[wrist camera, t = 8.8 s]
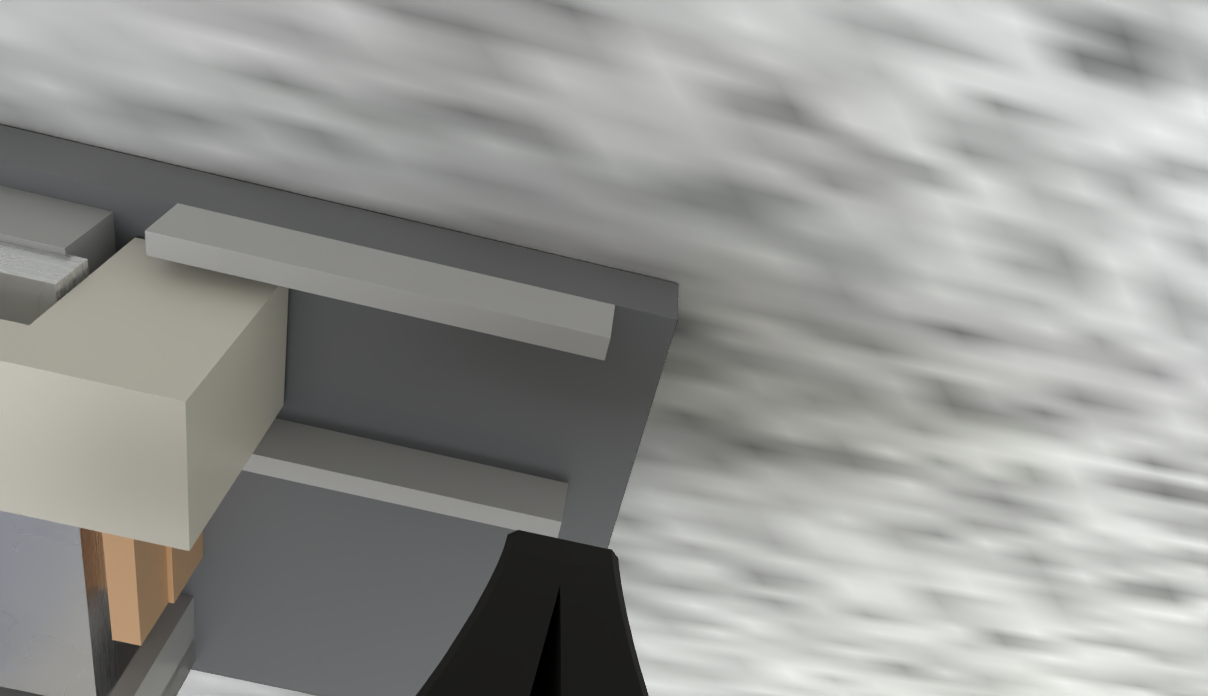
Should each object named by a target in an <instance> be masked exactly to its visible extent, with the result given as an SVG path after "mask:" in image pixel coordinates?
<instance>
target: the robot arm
mask: <svg viewBox="0 0 1208 696" xmlns="http://www.w3.org/2000/svg"><path fill="white" fill-rule="evenodd" d="M416 696H648V692H647V689H646V685H645V682H644V679H643V675H642V672H641V669H640V665H639V662H638V658H637V654H636V650H635V647H634V643H633V639H632V634H631V630H630V626H629V621H628V617H627V612H626V607H625V603H624V597H623V592H622V586H621V579H620V572H619V563H618V557H617V556H616V555H615V553H614V552H613V551H612V550H611V549H606V548H601V547H597V546H592V545H587V544H583V543H578V542H573V541H569V540H564V539H559V538H555V537H550V536H545V535H541V534H536V533H531V532H527V531H522V530H516V531H514V532H512V533H510V534H508V535H507V538H506V542H505V545H504V548H503V551H502V554H501V556H500V558H499V561H498V563H497V566H496V568H495V570H494V572H493V574H492V576H491V578H490V580H489V582H488V584H487V586H486V588H485V590H484V591H483V593H482V595H481V597H480V599H479V601H478V602H477V604H476V606H475V608H474V609H473V611H472V613H471V614H470V616H469V618H468V619H467V621H466V622H465V624H464V626H463V627H462V629H461V630H460V632H459V634H458V635H457V637H456V638H455V640H454V641H453V643H452V645H451V646H450V648H449V649H448V651H447V653H446V654H445V656H444V657H443V659H442V660H441V661H440V663H439V664H438V666H437V667H436V669H435V670H434V671H433V673H432V674H431V675H430V677H429V678H428V680H427V681H426V682H425V684H424V685H423V686H422V688H421V689H420V691H419V692H418V693H417V695H416Z"/></svg>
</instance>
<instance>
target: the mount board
mask: <svg viewBox="0 0 1208 696" xmlns="http://www.w3.org/2000/svg"><path fill="white" fill-rule="evenodd" d="M135 237H136V238H140V239H144V240H145V243H146V255H147V256H151V257H156V258H160V259H165V260H169V261H173V262H178V263H182V264H186V265H191V266H195V267H199V268H204V269H208V270H212V271H217V272H221V273H225V274H230V275H234V276H239V277H243V278H247V279H252V280H256V281H260V282H265V283H269V284H273V285H278V286H282V287H286V288H289V292H288V315H287V338H286V361H285V384H284V405H283V407H282V409H281V410H280V412H279V413H278V415H277V416H276V418H275V419H274V421H273V422H272V424H271V426H270V427H269V429H268V430H267V432H266V433H265V435H264V436H263V438H262V440H261V441H260V443H259V444H258V446H257V447H256V449H255V450H254V452H253V453H252V455H251V457H250V458H249V460H248V461H247V463H246V464H245V466H244V467H243V469H242V470H241V472H240V474H239V475H238V477H237V478H236V480H235V481H234V483H233V484H232V486H231V488H230V489H229V491H228V492H227V494H226V495H225V497H224V498H223V500H222V501H221V503H220V505H219V506H218V508H217V509H216V511H215V512H214V514H213V515H212V517H211V519H210V520H209V522H208V523H207V525H206V526H205V528H204V529H203V531H202V532H201V534H200V536H199V537H198V539H197V540H196V542H195V543H194V545H193V546H192V548H191V549H190V551H187V550H182V549H177V548H173V547H168V546H163V545H159V544H154V543H149V542H145V541H140V540H135V539H131V538H126V537H121V536H117V535H112V534H107V533H103V532H102V537H103V547H104V558H105V568H106V579H107V589H108V600H109V610H110V621H111V631H112V640H115V641H118V652H119V665H120V672H119V674H118V675H117V677H116V678H115V680H114V681H113V683H112V685H111V686H110V688H109V689H108V691H107V692H106V694H105V695H104V696H176V695H177V693H178V691H179V690H180V688H181V686H182V684H183V682H184V681H185V679H186V677H187V675H188V673H189V672H190V670H191V669H192V670H197V671H202V672H207V673H211V674H216V675H221V676H226V677H231V678H235V679H240V680H245V681H250V682H255V683H259V684H264V685H269V686H274V687H279V688H283V689H288V690H293V691H298V692H303V693H307V694H312V695H317V696H416V695H417V693H418V692H419V691H420V689H421V688H422V686H423V685H424V684H425V682H426V681H427V680H428V678H429V677H430V675H431V674H432V673H433V671H434V670H435V669H436V667H437V666H438V664H439V663H440V661H441V660H442V659H443V657H444V656H445V654H446V653H447V651H448V649H449V648H450V646H451V645H452V643H453V641H454V640H455V638H456V637H457V635H458V634H459V632H460V630H461V629H462V627H463V626H464V624H465V622H466V621H467V619H468V618H469V616H470V614H471V613H472V611H473V609H474V608H475V606H476V604H477V602H478V601H479V599H480V597H481V595H482V593H483V591H484V590H485V588H486V586H487V584H488V582H489V580H490V578H491V576H492V574H493V572H494V570H495V568H496V566H497V563H498V561H499V558H500V556H501V554H502V551H503V548H504V545H505V542H506V538H507V535H508V534H510V533H512V532H514V531H516V530H522V531H527V532H531V533H536V534H541V535H545V536H550V537H555V538H559V539H564V540H569V541H573V542H578V543H583V544H587V545H592V546H597V547H601V548H606V549H607V548H608V545H609V542H610V538H611V535H612V532H613V529H614V525H615V522H616V519H617V516H618V512H619V509H620V506H621V503H622V499H623V496H624V493H625V490H626V486H627V483H628V480H629V477H630V473H631V470H632V467H633V464H634V460H635V457H636V454H637V451H638V447H639V444H640V441H641V437H642V434H643V431H644V428H645V424H646V421H647V418H648V415H649V411H650V408H651V405H652V402H653V398H654V395H655V392H656V389H657V385H658V382H659V379H660V376H661V372H662V369H663V366H664V363H665V359H666V356H667V353H668V350H669V346H670V343H671V340H672V337H673V333H674V330H675V327H676V324H677V320H678V284H677V283H673V282H669V281H664V280H660V279H656V278H652V277H647V276H643V275H639V274H635V273H630V272H626V271H622V270H618V269H613V268H609V267H605V266H600V265H596V264H592V263H588V262H583V261H579V260H575V259H571V258H566V257H562V256H558V255H554V254H549V253H545V252H541V251H537V250H532V249H528V248H524V247H520V246H515V245H511V244H507V243H503V242H498V241H494V240H490V239H485V238H481V237H477V236H473V235H468V234H464V233H460V232H456V231H451V230H447V229H443V228H439V227H434V226H430V225H426V224H422V223H417V222H413V221H409V220H405V219H400V218H396V217H392V216H388V215H383V214H379V213H375V212H370V211H366V210H362V209H358V208H353V207H349V206H345V205H341V204H336V203H332V202H328V201H324V200H319V199H315V198H311V197H307V196H302V195H298V194H294V193H290V192H285V191H281V190H277V189H273V188H268V187H264V186H260V185H255V184H251V183H247V182H243V181H238V180H234V179H230V178H226V177H221V176H217V175H213V174H209V173H204V172H200V171H196V170H192V169H187V168H183V167H179V166H175V165H170V164H166V163H162V162H158V161H153V160H149V159H145V158H140V157H136V156H132V155H128V154H123V153H119V152H115V151H111V150H106V149H102V148H98V147H94V146H89V145H85V144H81V143H77V142H72V141H68V140H64V139H60V138H55V137H51V136H47V135H43V134H38V133H34V132H30V131H25V130H21V129H17V128H13V127H8V126H4V125H0V240H3V241H7V242H11V243H16V244H20V245H24V246H29V247H33V248H37V249H42V250H46V251H51V252H55V253H59V254H64V255H66V254H68V255H72V256H77V257H81V258H85V259H88V269H89V275H90V274H92V273H93V272H94V271H95V270H96V269H98V268H99V267H100V266H101V265H102V264H104V263H105V262H106V261H107V260H108V259H110V258H111V257H112V256H113V255H114V254H116V253H117V252H118V251H119V250H120V249H122V248H123V247H124V246H125V245H126V244H128V243H129V242H130V241H131V240H132V239H134V238H135ZM0 696H44V695H40V694H35V693H30V692H25V691H20V690H15V689H10V688H5V687H1V686H0Z"/></svg>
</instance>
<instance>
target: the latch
mask: <svg viewBox="0 0 1208 696" xmlns="http://www.w3.org/2000/svg"><path fill="white" fill-rule="evenodd" d="M288 292H289V288H286V287H282V286H278V285H273V284H269V283H265V282H260V281H256V280H252V279H247V278H243V277H239V276H234V275H230V274H225V273H221V272H217V271H212V270H208V269H204V268H199V267H195V266H191V265H186V264H182V263H178V262H173V261H169V260H165V259H160V258H156V257H151V256H147V255H146V243H145V240H144V239H140V238H136V237H135V238H134V239H132V240H131V241H130V242H129V243H128V244H126V245H125V246H124V247H123V248H122V249H120V250H119V251H118V252H117V253H116V254H114V255H113V256H112V257H111V258H110V259H108V260H107V261H106V262H105V263H104V264H102V265H101V266H100V267H99V268H98V269H96V270H95V271H94V272H93V273H92V274H90V275H89V276H88V277H87V278H86V279H84V280H83V281H82V282H81V283H80V284H78V285H77V286H76V287H75V288H73V289H72V290H71V291H70V292H69V293H67V294H66V295H65V296H64V297H63V298H61V299H60V300H59V301H58V302H57V303H55V304H54V305H53V306H52V307H51V308H49V309H48V310H47V311H46V312H45V313H43V314H42V315H41V316H40V317H39V318H37V319H36V320H35V321H34V322H33V323H31V324H30V325H26V324H21V323H17V322H12V321H8V320H3V319H0V511H5V512H10V513H14V514H19V515H24V516H28V517H33V518H38V519H42V520H47V521H52V522H56V523H61V524H66V525H70V526H75V527H79V528H84V529H89V530H93V531H98V532H103V533H107V534H112V535H117V536H121V537H126V538H131V539H135V540H140V541H145V542H149V543H154V544H159V545H163V546H168V547H173V548H177V549H182V550H187V551H190V549H191V548H192V546H193V545H194V543H195V542H196V540H197V539H198V537H199V536H200V534H201V532H202V531H203V529H204V528H205V526H206V525H207V523H208V522H209V520H210V519H211V517H212V515H213V514H214V512H215V511H216V509H217V508H218V506H219V505H220V503H221V501H222V500H223V498H224V497H225V495H226V494H227V492H228V491H229V489H230V488H231V486H232V484H233V483H234V481H235V480H236V478H237V477H238V475H239V474H240V472H241V470H242V469H243V467H244V466H245V464H246V463H247V461H248V460H249V458H250V457H251V455H252V453H253V452H254V450H255V449H256V447H257V446H258V444H259V443H260V441H261V440H262V438H263V436H264V435H265V433H266V432H267V430H268V429H269V427H270V426H271V424H272V422H273V421H274V419H275V418H276V416H277V415H278V413H279V412H280V410H281V409H282V407H283V405H284V384H285V361H286V338H287V315H288Z"/></svg>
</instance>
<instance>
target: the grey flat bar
mask: <svg viewBox="0 0 1208 696" xmlns="http://www.w3.org/2000/svg"><path fill="white" fill-rule="evenodd" d="M88 276H89V269H88V259H85V258H81V257H77V256H72V255H68V254H66V255H64V254H59V253H55V252H51V251H46V250H42V249H37V248H33V247H29V246H24V245H20V244H16V243H11V242H7V241H3V240H0V319H3V320H8V321H12V322H17V323H21V324H26V325H30V324H31V323H33V322H34V321H35V320H36V319H37V318H39V317H40V316H41V315H42V314H43V313H45V312H46V311H47V310H48V309H49V308H51V307H52V306H53V305H54V304H55V303H57V302H58V301H59V300H60V299H61V298H63V297H64V296H65V295H66V294H67V293H69V292H70V291H71V290H72V289H73V288H75V287H76V286H77V285H78V284H80V283H81V282H82V281H83V280H84V279H86V278H87V277H88ZM119 672H120V665H119V652H118V641H115V640H112V631H111V621H110V610H109V600H108V589H107V579H106V568H105V558H104V547H103V537H102V532H98V531H93V530H89V529H84V528H79V527H75V526H70V525H66V524H61V523H56V522H52V521H47V520H42V519H38V518H33V517H28V516H24V515H19V514H14V513H10V512H5V511H0V686H1V687H5V688H10V689H15V690H20V691H25V692H30V693H35V694H40V695H44V696H104V695H105V694H106V692H107V691H108V689H109V688H110V686H111V685H112V683H113V681H114V680H115V678H116V677H117V675H118V674H119Z"/></svg>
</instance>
